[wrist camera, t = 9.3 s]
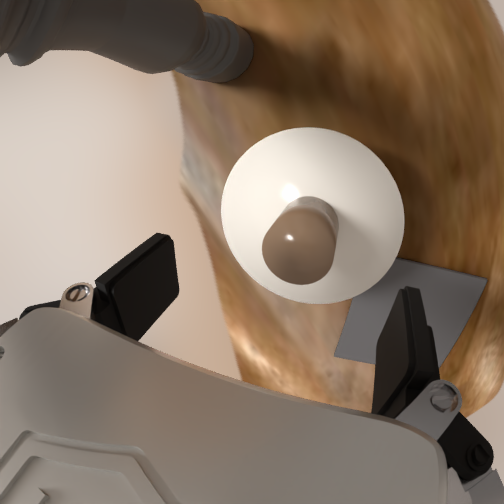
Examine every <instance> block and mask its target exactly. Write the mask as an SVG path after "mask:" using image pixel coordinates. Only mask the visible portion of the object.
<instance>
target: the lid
mask: <svg viewBox="0 0 504 504" xmlns="http://www.w3.org/2000/svg"><path fill="white" fill-rule="evenodd" d="M221 214H222V224H223V229H224V233H225V236H226V240H227V242H228V245H229V247H230V249H231V251H232V253H233V255H234V256H235V258H236V260H237V261H238V262H239V264H240V265H241V266H242V268H243V269H244V270H245V271H246V272H247V273H248V274H249V275H250V276H251V277H252V278H253V279H254V280H255V281H257V282H258V283H259V284H260V285H262V286H263V287H265V288H266V289H268V290H270V291H271V292H273V293H275V294H277V295H279V296H282V297H284V298H287V299H290V300H294V301H297V302H303V303H310V304H328V303H335V302H340V301H344V300H347V299H350V298H353V297H355V296H357V295H359V294H361V293H363V292H365V291H366V290H368V289H369V288H371V287H372V286H373V285H375V284H376V283H377V282H378V281H379V280H380V279H381V278H382V277H383V276H384V275H385V274H386V273H387V271H388V270H389V268H390V267H391V266H392V264H393V262H394V260H395V258H396V257H397V255H398V252H399V249H400V246H401V243H402V239H403V234H404V208H403V203H402V199H401V195H400V192H399V190H398V187H397V185H396V183H395V181H394V179H393V177H392V175H391V174H390V172H389V170H388V169H387V168H386V166H385V165H384V164H383V162H382V161H381V160H380V159H379V158H378V157H377V156H376V155H375V154H374V153H373V152H372V151H371V150H370V149H369V148H367V147H366V146H365V145H363V144H362V143H361V142H359V141H357V140H355V139H354V138H352V137H350V136H348V135H345V134H343V133H340V132H337V131H334V130H329V129H324V128H314V127H305V128H294V129H290V130H285V131H281V132H278V133H275V134H273V135H270V136H268V137H266V138H264V139H263V140H261V141H259V142H258V143H256V144H255V145H254V146H252V147H251V148H250V149H248V150H247V151H246V152H245V153H244V154H243V156H242V157H241V158H240V159H239V160H238V162H237V163H236V164H235V166H234V167H233V169H232V171H231V173H230V175H229V177H228V179H227V182H226V185H225V187H224V192H223V196H222V206H221Z"/></svg>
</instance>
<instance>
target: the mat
mask: <svg viewBox="0 0 504 504" xmlns="http://www.w3.org/2000/svg"><path fill="white" fill-rule="evenodd" d="M486 283H487V279H486V278H483V277H479V276H475V275H470V274H466V273H462V272H458V271H454V270H450V269H445V268H441V267H437V266H432V265H428V264H424V263H419V262H415V261H410V260H406V259H401V258H397V257H396V258H395V260H394V262H393V264H392V266H391V267H390V268H389V270H388V271H387V273H386V274H385V275H384V276H383V277H382V278H381V279H380V280H379V281H378V282H377V283H376V284H375V285H373V286H372V287H371V288H369V289H368V290H366V291H365V292H363V293H361V294H359V295H357V296H355V297H353V299H352V303H351V306H350V309H349V312H348V315H347V319H346V322H345V325H344V328H343V331H342V334H341V337H340V339H339V342H338V345H337V348H336V351H335V353H334V357H339V358H344V359H349V360H354V361H359V362H364V363H370V364H376V345H377V341H378V338H379V336H380V334H381V332H382V329H383V327H384V325H385V323H386V320H387V318H388V316H389V313H390V311H391V308H392V306H393V304H394V301H395V299H396V296H397V293H398V291H399V289H404V287H405V286H409V287H414V288H419V289H420V292H421V296H422V301H423V305H424V310H425V315H426V320H427V325H429V326H431V327H432V330H433V335H434V341H435V347H436V353H437V359H438V367H440V366H441V364H442V363H443V361H444V360H445V358H446V357H447V355H448V354H449V352H450V351H451V349H452V347H453V346H454V344H455V342H456V341H457V339H458V337H459V336H460V334H461V332H462V330H463V329H464V327H465V325H466V323H467V321H468V319H469V318H470V316H471V314H472V312H473V310H474V308H475V306H476V304H477V302H478V300H479V298H480V296H481V294H482V292H483V289H484V287H485V285H486Z"/></svg>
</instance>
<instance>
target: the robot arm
mask: <svg viewBox="0 0 504 504" xmlns="http://www.w3.org/2000/svg"><path fill="white" fill-rule="evenodd" d="M95 284H96V288H94V289H93V287H92V285H91V284H89V283H84V282H83V283H77V284H74V285H72V286H70V287H68V288H67V289H66V290H65V291H64V293H63V295H62V298H61V300H58V301H53V302H48V303H43V304H38V305H34V306H30V307H27V308H26V309H25V310H24V311H23V313H22V314H21V315H20V318H19V320H18V318H15V319H13V320H11V321H8V322H6V323H4V324H2V325H0V504H504V486H503V484H502V481H501V479H500V477H499V475H498V472H497V470H496V469H495V470H492V468H491V465H492V463H493V458H494V456H493V450H492V446H491V445H490V443H489V442H488V441H487V440H486V439H485V438H484V437H483V436H482V435H481V434H480V433H479V432H478V430H476V428H475V427H473V425H472V424H471V423H470V422H469V421H468V420H467V419H466V418H465V417H464V416H463V415H462V414H461V413H460V412H459V410H460V408H461V406H462V398H461V394H460V392H459V390H458V389H457V388H456V386H455V385H453V384H452V383H450V382H449V381H446V380H440V374H439V367H438V359H437V353H436V347H435V341H434V335H433V330H432V327H431V326H429V325H427V320H426V315H425V310H424V305H423V301H422V296H421V292H420V289H419V288H414V287H409V286H405V287H404V289H399V291H398V293H397V296H396V299H395V301H394V304H393V306H392V308H391V311H390V313H389V316H388V318H387V320H386V323H385V325H384V327H383V329H382V332H381V334H380V336H379V338H378V341H377V345H376V364H375V380H374V393H373V403H372V413H367V412H363V411H359V410H353V409H348V408H343V407H339V406H334V405H329V404H325V403H321V402H317V401H312V400H308V399H304V398H300V397H296V396H292V395H288V394H284V393H280V392H277V391H273V390H270V389H266V388H263V387H259V386H256V385H253V384H249V383H246V382H243V381H240V380H236V379H234V378H231V377H228V376H224V375H222V374H219V373H216V372H213V371H210V370H207V369H205V368H202V367H199V366H196V365H194V364H191V363H189V362H186V361H183V360H180V359H178V358H176V357H173V356H171V355H168V354H166V353H163V352H161V351H158V350H156V349H154V348H152V347H149V346H147V345H145V344H142V343H140V342H138V341H139V339H141V337H142V336H143V335H144V334H145V333H146V331H147V330H148V329H149V328H150V327H151V326H152V325H153V323H154V322H155V321H156V320H157V319H158V318H159V317H160V316H161V314H162V313H163V312H164V311H165V310H166V309H167V308H168V306H169V305H170V304H171V303H172V302H173V301H174V300H175V298H177V296H178V294H179V283H178V276H177V268H176V259H175V250H174V242H173V240H172V239H171V237H170V236H169V235H166V234H161V233H156V234H154V235H153V236H152V237H150V238H149V239H147V240H146V241H145V242H143V243H142V244H141V245H139V246H138V247H137V248H135V249H134V250H133V251H132V252H130V253H129V254H128V255H126V256H125V257H124V258H122V259H121V260H120V261H119V262H117V263H116V264H115V265H113V266H112V267H111V268H110V269H108V270H107V271H106V272H105V273H103V274H102V275H101V276H100V277H98V278H97V279H96V280H95Z"/></svg>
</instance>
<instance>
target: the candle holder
mask: <svg viewBox="0 0 504 504" xmlns="http://www.w3.org/2000/svg"><path fill="white" fill-rule="evenodd" d="M253 48H254V45H253V42H252V40H251V37H250V35H249V34H248V33H247V32H246V31H245V30H243V29H242V28H241V27H240V26H238V25H237V24H235V23H234V22H232V21H231V20H229V19H228V18H226V17H222V16H218V15H215V14H211V13H206V12H203V11H202V9H201V7H200V5H199V4H198V3H197V2H196V1H194V0H0V57H1V56H2V55H3V54H4V53H7V54H8V56H9V58H10V60H11V62H12V63H13V64H14V65H18V66H26V65H29V64H31V63H33V62H34V61H36V60H37V59H39V58H41V57H42V55H43V54H44V53H45V52H47V51H49V50H83V51H90V52H93V53H96V54H98V55H101V56H104V57H106V58H109V59H111V60H114V61H116V62H119V63H121V64H123V65H126V66H128V67H130V68H133V69H135V70H139V71H142V72H145V73H150V74H154V73H161V72H167V71H171V70H173V69H174V70H175V71H177V72H179V73H182V74H184V75H185V76H188V77H191V78H193V79H196V80H202V81H208V82H214V83H216V82H228V81H230V80H232V79H235V78H237V77H239V76H240V75H241V74H242V73H243V72H244V71H245V70H246V69H247V68H248V66H249V64H250V62H251V60H252V58H253Z"/></svg>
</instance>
